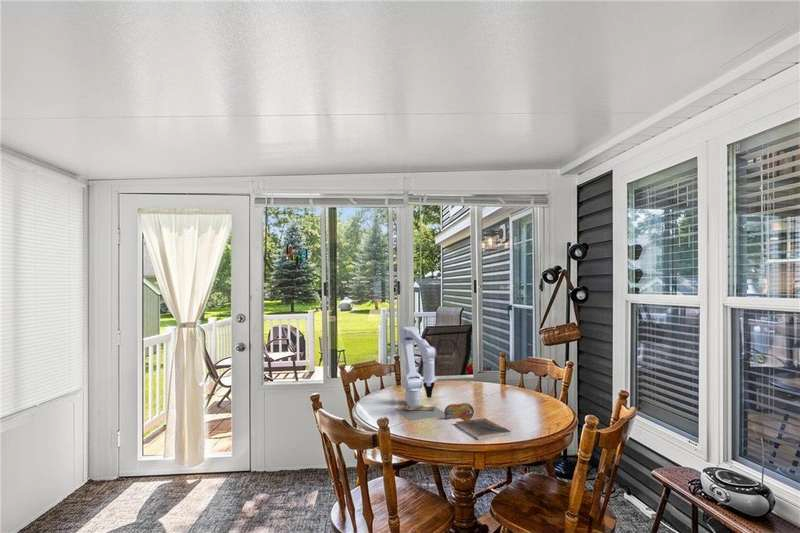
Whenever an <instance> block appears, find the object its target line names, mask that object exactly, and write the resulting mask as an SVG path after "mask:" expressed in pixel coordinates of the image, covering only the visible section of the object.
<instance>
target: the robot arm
mask: <svg viewBox="0 0 800 533" xmlns="http://www.w3.org/2000/svg"><path fill="white" fill-rule="evenodd" d="M399 338H400V339H399V340H400V342H401V343H402V345H403V351H404V358H405V367H406V372H407V373H406V374H405V375H403V379H402V380H403V382H402V384H403V385H402V386H403V388H404V390H405V391H404V403H408V405H414V400H419V405H421V404H420V402H421V401H420V400H421V399H420V398H421V396H420V391H421V390H422V388H423V387H424V389H425V393H426V394H425V395H426V398H430V399H431V398H432V395H433V390H434V386H435V382H437V381H438V380H437V378H435V358H437V355H438V354H437V349H436V348H435V346H431V345H430V344H429V342H428V341H427V340H426V339H424V338H422V336H421V334H420V329H419V328H418V326H401V327H400V329H399ZM413 343H416V347H417V349H418V350H419V351H420V353H421V358H422V360H421V361H422V362H423V364H422V366H423V373H422V374H423V378H422V376H421V374H420V373H419V372H417V369H416V363H415V362H416V361H415V356H414V349H413V348H414V347H413Z"/></svg>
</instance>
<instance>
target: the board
mask: <svg viewBox="0 0 800 533" xmlns="http://www.w3.org/2000/svg"><path fill="white" fill-rule="evenodd" d="M394 410H395V411H396V412H398V413H399V414H400V415H402V416H403V417H404V418H405V419H406V420H408V421H417V420H426V419H433V418H434V419H435V418H443V417H444V418H446V417H445V414H444V410H442V409H440V408H438V407H437V406H435V405H434V410H402V407H399V408H394Z"/></svg>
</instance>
